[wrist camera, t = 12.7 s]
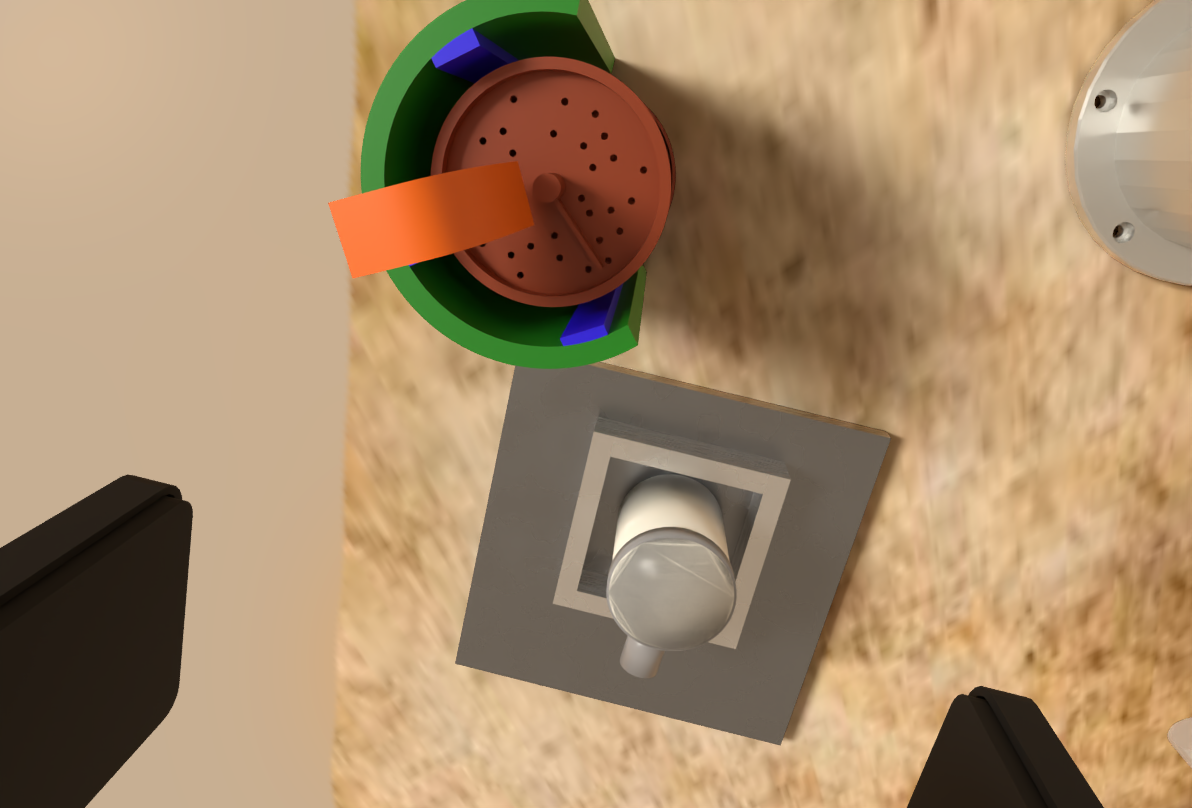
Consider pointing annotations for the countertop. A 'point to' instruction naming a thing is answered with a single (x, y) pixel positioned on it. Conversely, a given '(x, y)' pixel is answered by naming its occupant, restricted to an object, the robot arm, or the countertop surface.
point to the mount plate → (588, 528)
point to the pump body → (669, 571)
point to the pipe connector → (1182, 739)
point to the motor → (513, 185)
